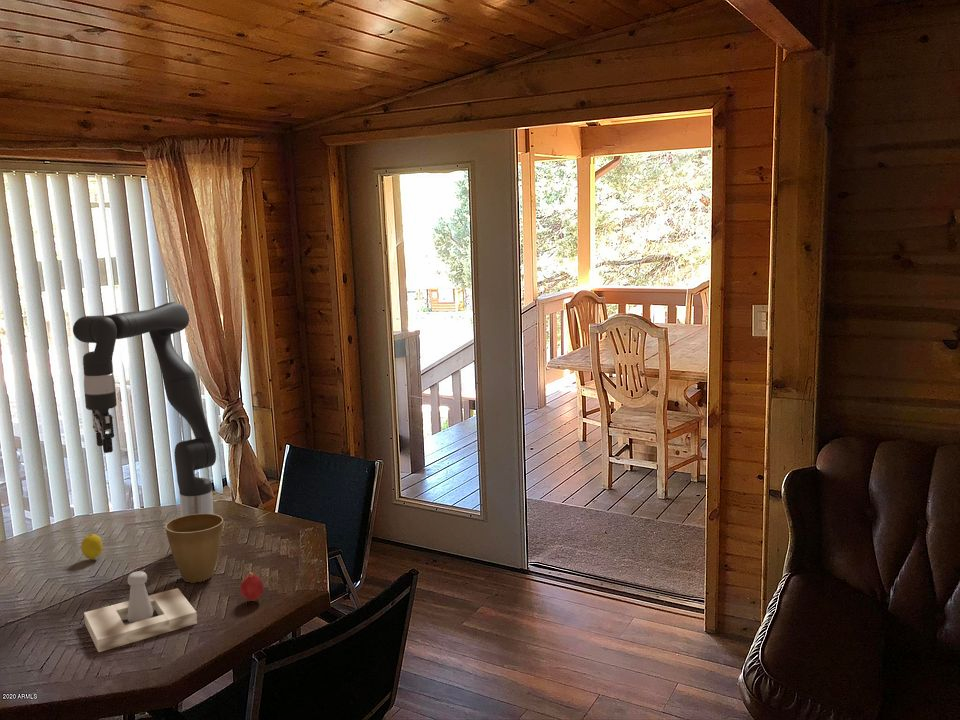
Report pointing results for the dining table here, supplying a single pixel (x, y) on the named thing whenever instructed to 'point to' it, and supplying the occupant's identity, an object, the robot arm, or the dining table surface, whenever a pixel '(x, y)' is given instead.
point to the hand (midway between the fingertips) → (104, 448)
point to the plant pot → (195, 544)
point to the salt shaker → (138, 598)
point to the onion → (252, 587)
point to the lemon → (91, 546)
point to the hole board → (114, 633)
